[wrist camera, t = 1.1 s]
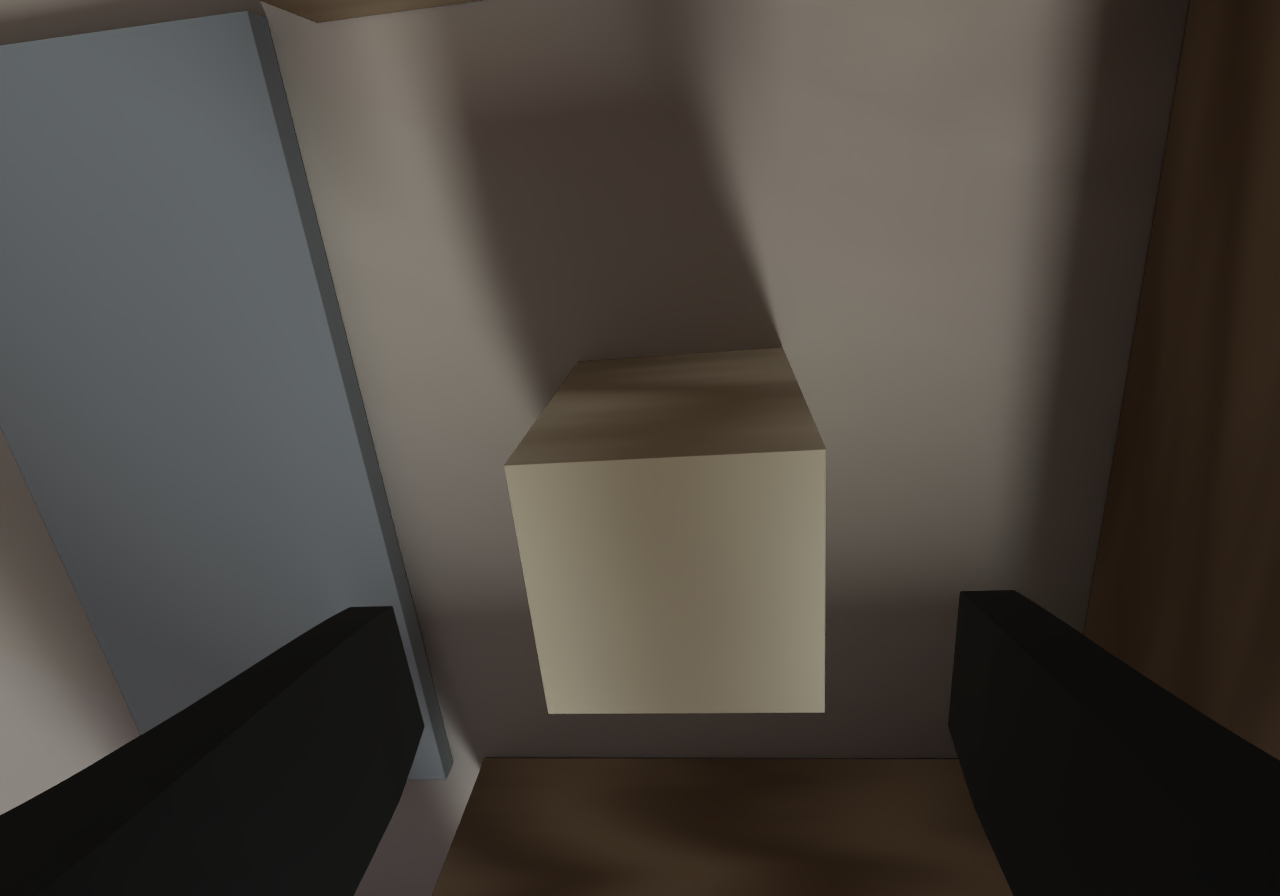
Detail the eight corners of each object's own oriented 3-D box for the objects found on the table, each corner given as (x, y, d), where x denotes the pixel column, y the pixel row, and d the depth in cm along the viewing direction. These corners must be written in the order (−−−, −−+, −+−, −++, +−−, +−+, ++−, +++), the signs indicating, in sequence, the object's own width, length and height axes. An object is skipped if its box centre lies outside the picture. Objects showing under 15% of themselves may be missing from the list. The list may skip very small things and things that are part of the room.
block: (601, 537, 17) (548, 713, 11) (578, 361, 15) (503, 465, 10) (785, 531, 16) (824, 712, 11) (782, 347, 15) (825, 449, 9)
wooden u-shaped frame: (491, 788, 20) (410, 1018, 15) (300, -51, 13) (-13, -225, 7) (1104, 793, 18) (1277, 1062, 13) (1305, -204, 11) (1940, -606, 5)
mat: (174, 762, 21) (160, 778, 21) (-130, 73, 14) (-163, 68, 14) (453, 763, 20) (445, 779, 20) (266, 17, 13) (247, 10, 13)
